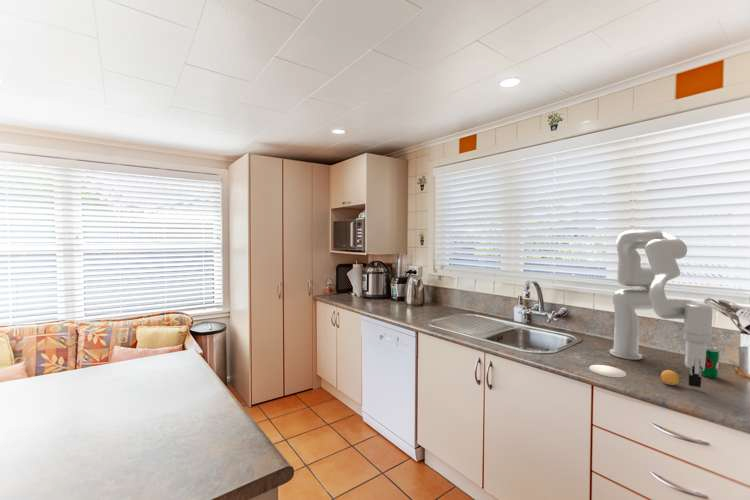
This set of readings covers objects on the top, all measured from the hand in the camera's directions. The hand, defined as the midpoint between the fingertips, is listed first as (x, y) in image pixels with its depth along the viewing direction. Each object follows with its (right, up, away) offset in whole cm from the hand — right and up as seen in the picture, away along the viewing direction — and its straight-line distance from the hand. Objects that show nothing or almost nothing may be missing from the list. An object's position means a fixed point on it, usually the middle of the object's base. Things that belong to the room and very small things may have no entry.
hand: (694, 385), depth 129 cm
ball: (-6, +1, +4) cm, 7 cm away
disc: (-21, -1, +17) cm, 27 cm away
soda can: (+17, -1, +12) cm, 21 cm away
